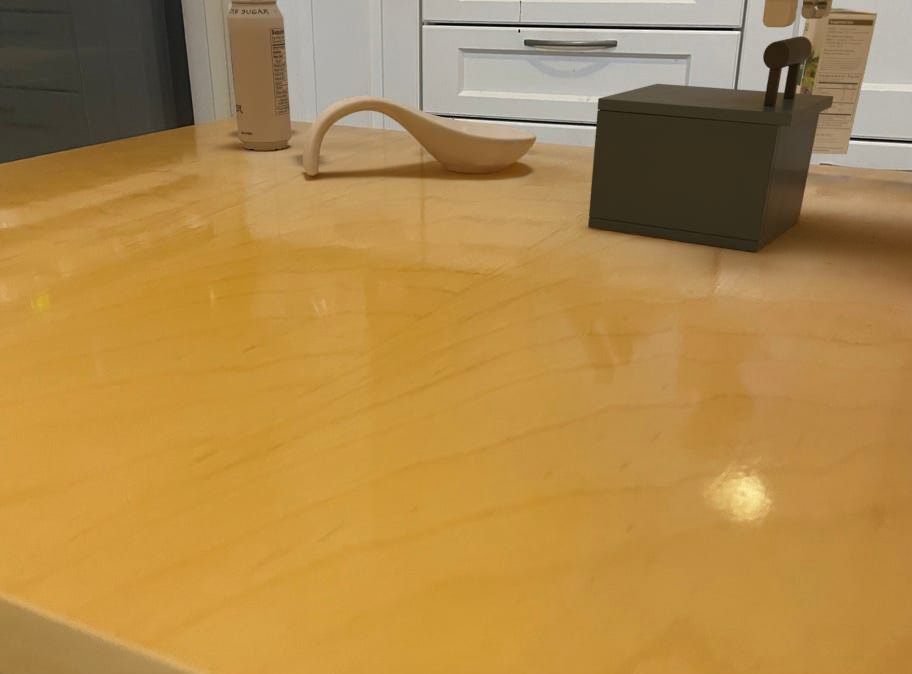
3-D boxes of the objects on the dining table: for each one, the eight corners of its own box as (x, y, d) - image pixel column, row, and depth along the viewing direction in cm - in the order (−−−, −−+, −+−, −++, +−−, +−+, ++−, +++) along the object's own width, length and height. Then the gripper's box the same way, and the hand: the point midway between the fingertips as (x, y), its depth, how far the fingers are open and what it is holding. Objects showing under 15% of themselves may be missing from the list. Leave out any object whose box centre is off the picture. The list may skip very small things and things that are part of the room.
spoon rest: (513, 156, 103) (516, 85, 100) (550, 176, 93) (555, 98, 90) (298, 165, 98) (293, 91, 95) (313, 188, 88) (308, 106, 85)
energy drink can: (247, 142, 111) (234, -2, 104) (297, 142, 111) (287, -2, 103) (233, 150, 106) (218, 0, 98) (285, 151, 105) (274, 0, 98)
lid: (831, 107, 73) (845, 35, 70) (790, 126, 64) (804, 45, 62) (655, 93, 80) (662, 28, 77) (597, 109, 71) (603, 36, 69)
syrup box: (777, 157, 102) (803, 7, 95) (834, 158, 102) (864, 8, 94) (787, 167, 97) (815, 10, 90) (846, 168, 97) (880, 10, 90)
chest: (799, 220, 77) (820, 106, 73) (756, 252, 69) (778, 125, 65) (643, 200, 84) (655, 94, 80) (587, 227, 76) (597, 110, 71)
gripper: (847, -250, 51) (803, 33, 58) (917, -208, 66) (875, 14, 72) (732, -236, 54) (703, 31, 61) (823, -199, 69) (791, 14, 76)
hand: (797, 22), depth 67 cm, fingers open, 8 cm apart
